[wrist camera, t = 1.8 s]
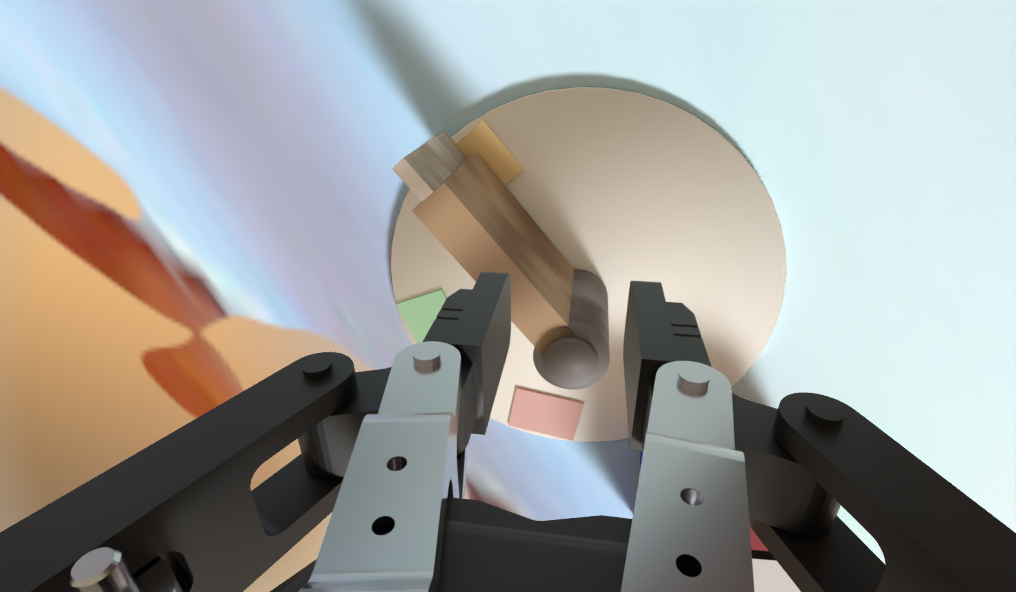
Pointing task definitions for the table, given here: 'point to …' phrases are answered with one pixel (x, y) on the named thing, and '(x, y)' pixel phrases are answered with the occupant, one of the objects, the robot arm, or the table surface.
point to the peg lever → (513, 260)
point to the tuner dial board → (613, 239)
